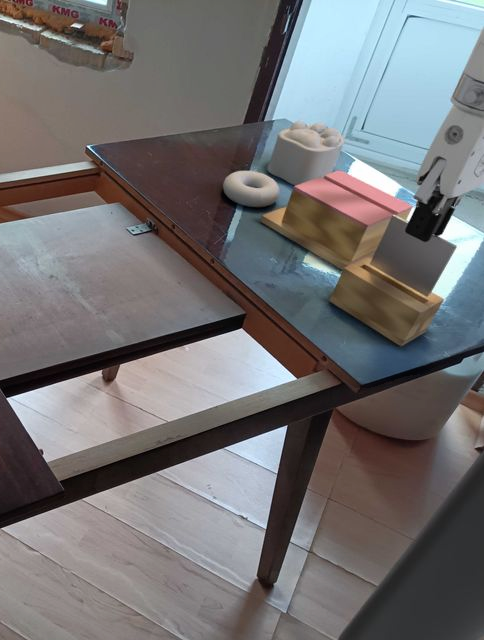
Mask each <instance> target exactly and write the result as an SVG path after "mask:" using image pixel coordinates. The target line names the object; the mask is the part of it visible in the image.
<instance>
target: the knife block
mask: <svg viewBox="0 0 484 640" xmlns="http://www.w3.org/2000/svg"><path fill="white" fill-rule="evenodd" d="M371 260H372V258H370V257H366V258H364V259H362V260H360V261H358V262H356V263H353V264H351V265H349V266H347V267H345V268H344V269H343V270H341V271H342V272H341V274H340V275H339V278H338V280H337V282H336V285H335V287H334V289H333V290H332V294H331V296H330V298H329V301H328V302H330V303H331V304H333V305H335V306H336V307H338V308H340V309H341V310H343V311H344V312H346V313H347V314H349V315H351V316H352V317H354V318H355V319H357V320H359V321H360V322H362V323H363V324H365V325H366V326H368V327H369V328H371V329H373V330H374V331H375V332H377V333H379V334H381V335H382V336H384V337H385V338H387V339H389V340H390V341H392V342H393V343H395V345H398V346H399V347H403V346H405V345H406V344H408V343H410V342H411V341H412V340H414V339H416V338H418V337H420V336H421V335H423V334H425V333H426V331H427V330H428V328H429V327H430V324H431V323H432V321H433V320H434V318H435V316H436V314H437V313H438V311H439V310H440V308H441V306H442V304H443V303H444V301H445V298H443V297H441V296H440V295H438V294H436V293H435V292H433V291H432V292H431V294H430V295H429V296H428V297H426V296H424V295H423V294H421V293H419V292H417V291H416V290H414V289H412V288H410V287H409V286H407V285H405V284H403V283H402V282H400V281H398V280H396V279H395V278H393V277H391V276H389V275H388V274H386V273H384V272H382V271H381V270H379V269H377V268H375V267H374V266H372V265H370V262H371Z"/></svg>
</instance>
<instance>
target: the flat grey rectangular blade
mask: <svg viewBox="0 0 484 640" xmlns="http://www.w3.org/2000/svg"><path fill="white" fill-rule="evenodd" d="M432 195H433V196H435V197H437V201H438V199H439V197H440V196H439V195H437V194H435V193H432ZM454 200H455V198H448V199H447V201H446V202H445V204H444V206H443V208H442V210H441V212H440V214H442V217H441V219H440V221H439V223H438V225H437V227H436V229H435V231H434V233H436V232H437V231H438V230H439V228H440V226H441V224H442V222H443V220H444V218H445V216H446V215H447V213H448V211H449V209H450V207H451V205H452V203H453V201H454ZM409 221H410V220H409ZM409 221H408V220H407V219H406V220H405V219H403V218H401V217H399V216H397V215H395V214H394V215H393V216H392V218H391V220H390V222H389V224H388V226H387V228H386V230H385V233H384V235H383V237H382V239H381V241H380V243H379V245H378V247H377V249H376V252H375V254H374V256H373V258H372V260H371V262H370V265H372V266H374V267H375V268H377V269H379V270H381V271H382V272H384V273H386V274H388V275H389V276H391V277H393V278H395V279H396V280H398V281H400V282H402V283H403V284H405V285H407V286H409V287H410V288H412V289H414V290H416V291H417V292H419V293H421V294H423V295H424V296H426V297H428V296H429V295H430V294H431V292H432V293H433V290H434V288H436V287H435V286H436V285H437V283H438V281H439V279H440V278H441V276H442V274H443V273H444V271H445V269H446V267H447V265H448V264H449V262H450V260H451V258H452V256H453V255H454V253H455V251H456V249H457V248H458V245H456V244H454V243H452V242H450V241H448V240H446V239H445V238H443V237H440V236H436V235H435V234H434V233H433V235H432V237H431V239H430V240H429V241H427V242H423V241H421V240H419V239H417V238H415V237H413V236H411V235H409V234H407V233H406V232H405V229H406V227H407V225H408V223H409Z"/></svg>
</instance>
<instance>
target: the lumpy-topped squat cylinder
mask: <svg viewBox="0 0 484 640" xmlns="http://www.w3.org/2000/svg"><path fill="white" fill-rule="evenodd" d="M344 142H345V139H344V136H343V135H342V133H340V132H339V131H338V129H336V128H335V127H329V126H326V124H324V123H322V122H317V123H314V124H308V123H305V122H303V121H301V120H297V121H295V122H293V123H292V125H290V127H287V128H285V129H283V130H281V131H279V132H278V135H277V138H276V140H275V144H274V146H273V149H272V152H271V157H270V159H269V162H268V165H267V169H266V170H267V172H268V173H270V174H271V175H273V176H275V177H278V178H281V179H282V180H284V181H286V182H287V183H289V184H290V185H292V186H293V185H294V186H296V185H299V184H302V183H304V182H307V181H310V180H313V179H316V178H319V177H321V178H323V179H324V176H325V175H327V174H330V173H333V172H334V169H335V167H336V164H337V161H338V159H339V157H340V154H341V151H342V149H343V147H344Z"/></svg>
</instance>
